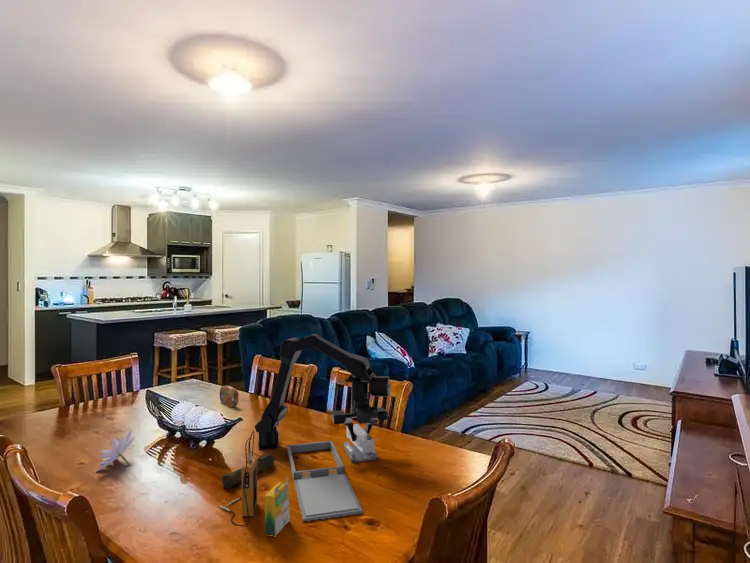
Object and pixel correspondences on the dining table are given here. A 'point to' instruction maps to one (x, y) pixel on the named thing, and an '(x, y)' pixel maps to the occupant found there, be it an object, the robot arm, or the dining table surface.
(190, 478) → the dining table surface
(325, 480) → the case
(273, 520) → the crayon box
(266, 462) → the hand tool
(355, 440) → the white square bar
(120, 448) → the lavender daisy flower
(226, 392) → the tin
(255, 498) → the multimeter
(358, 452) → the stay bracket
